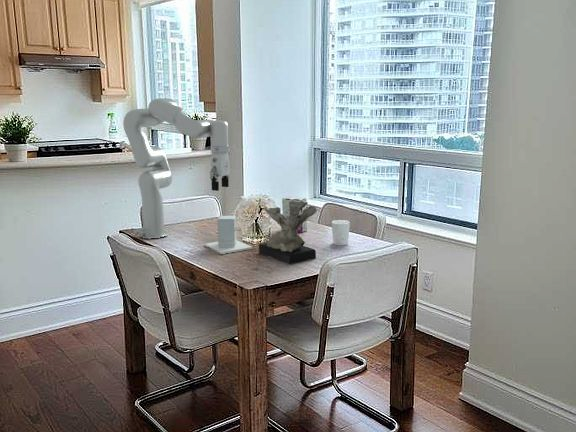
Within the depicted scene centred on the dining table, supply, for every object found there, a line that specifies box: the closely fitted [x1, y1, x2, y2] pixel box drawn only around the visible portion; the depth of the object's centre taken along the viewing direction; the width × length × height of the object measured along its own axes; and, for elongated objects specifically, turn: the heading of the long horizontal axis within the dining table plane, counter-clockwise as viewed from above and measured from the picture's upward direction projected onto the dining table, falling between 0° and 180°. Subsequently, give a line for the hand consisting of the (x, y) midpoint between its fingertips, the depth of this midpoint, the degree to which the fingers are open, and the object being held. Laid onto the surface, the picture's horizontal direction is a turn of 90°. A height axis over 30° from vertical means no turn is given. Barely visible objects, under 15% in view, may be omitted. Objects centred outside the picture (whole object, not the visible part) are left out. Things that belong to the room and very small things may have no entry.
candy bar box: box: [281, 196, 308, 234], centre depth 278 cm, size 11×5×16 cm, turn 60°
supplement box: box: [216, 215, 238, 247], centre depth 250 cm, size 7×7×13 cm
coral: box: [258, 201, 318, 265], centre depth 239 cm, size 25×20×21 cm
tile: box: [203, 239, 253, 255], centre depth 251 cm, size 15×17×1 cm
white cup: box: [331, 219, 351, 246], centre depth 254 cm, size 8×8×10 cm
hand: (220, 188), depth 251 cm, fingers open, 9 cm apart
